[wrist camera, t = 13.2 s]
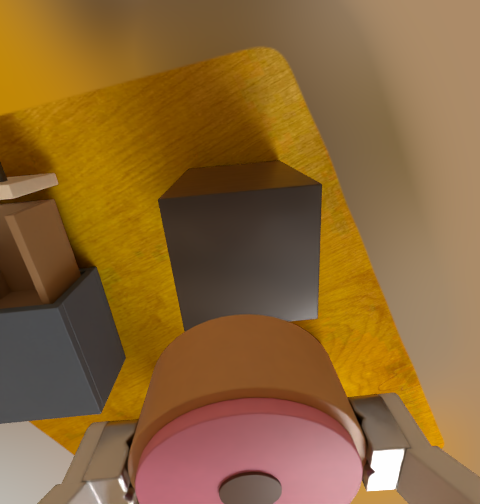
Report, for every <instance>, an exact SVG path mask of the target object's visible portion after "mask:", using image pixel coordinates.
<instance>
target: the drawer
mask: <svg viewBox="0 0 480 504" xmlns="http://www.w3.org/2000/svg"><path fill="white" fill-rule="evenodd" d="M55 185H58V181H57V178H56V175H55V173H48V174H37V175H26V176H15V177H6V175H5V172H4V170H3V167H2V165H1V162H0V200H4V199H14V198H17V197H20V196H23V195H26V194H30V193H33V192H36V191H39V190H42V189H45V188H48V187H52V186H55ZM80 276H81V274H80V271H79V268H78V266H77V263H76V260H75V257H74V254H73V251H72V249H71V246H70V243H69V240H68V237H67V234H66V232H65V229H64V226H63V223H62V220H61V217H60V215H59V212H58V209H57V206H56V203H55V200H54V199H48V200H37V201H26V202H16V203H5V204H0V309H3V308H13V307H24V306H34V305H44V304H54V302H55V301H56V300H57V299H58V298H59V297H60V296H61V295H62V294H63V293H64V292H65V291H66V290H67V289H68V288H69V287H70V286H71V285H72V284H73V283H74V282H75V281H76V280H77V279H78V278H79V277H80Z"/></svg>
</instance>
